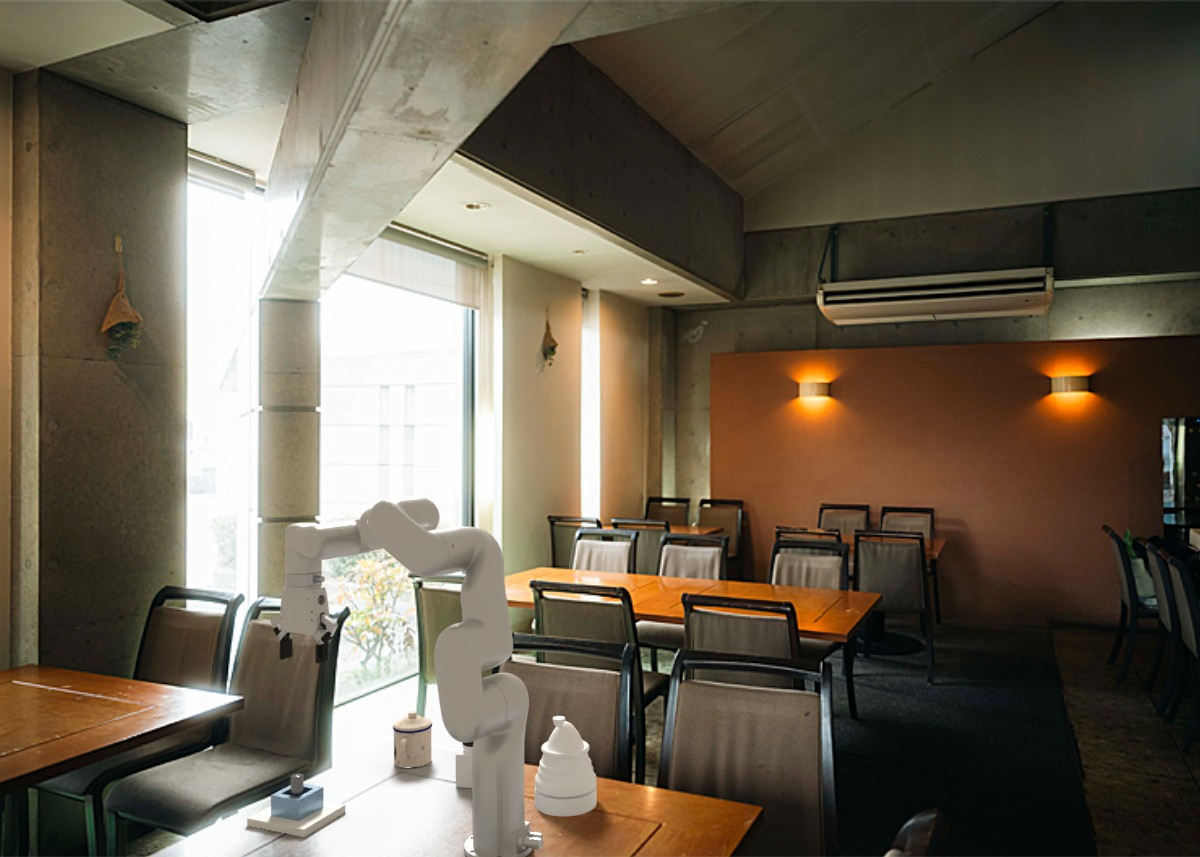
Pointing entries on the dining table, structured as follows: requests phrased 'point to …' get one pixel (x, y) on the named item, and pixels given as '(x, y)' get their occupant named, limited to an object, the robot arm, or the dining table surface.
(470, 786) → the medicine bottle
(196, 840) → the dining table surface
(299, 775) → the steel post
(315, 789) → the collar
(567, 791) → the honey pot
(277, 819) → the base plate
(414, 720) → the teacup with lid
